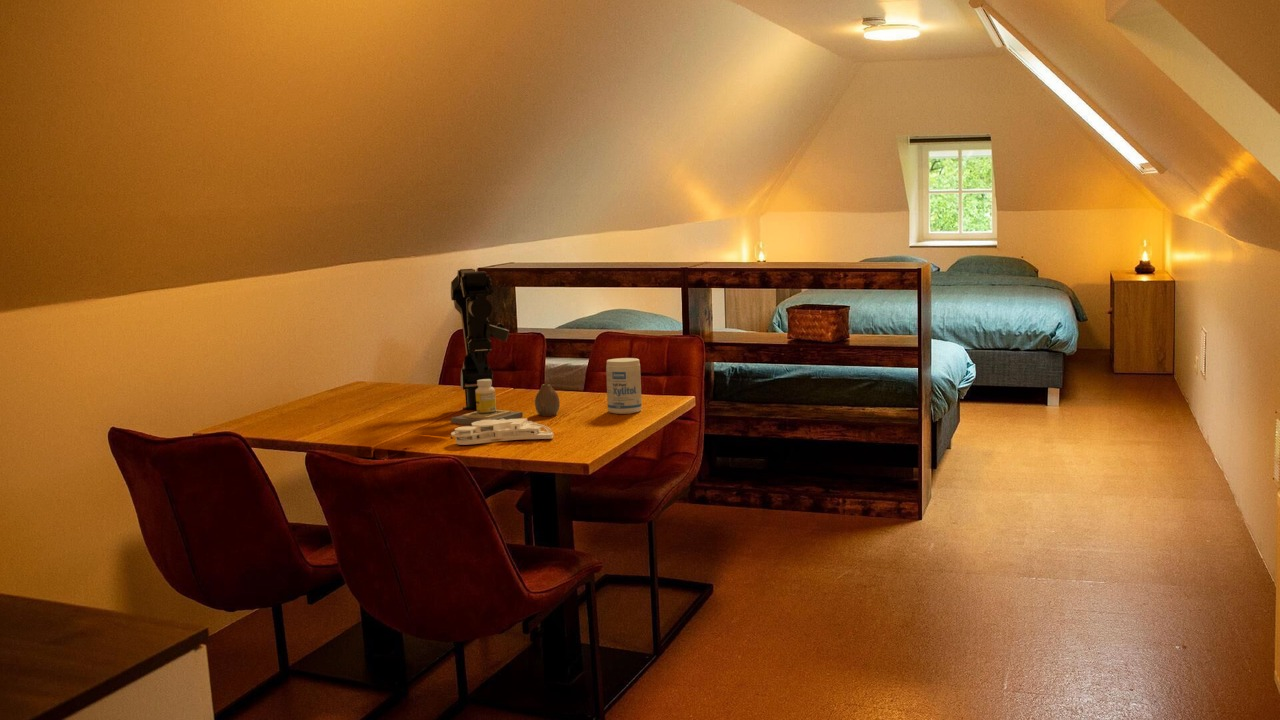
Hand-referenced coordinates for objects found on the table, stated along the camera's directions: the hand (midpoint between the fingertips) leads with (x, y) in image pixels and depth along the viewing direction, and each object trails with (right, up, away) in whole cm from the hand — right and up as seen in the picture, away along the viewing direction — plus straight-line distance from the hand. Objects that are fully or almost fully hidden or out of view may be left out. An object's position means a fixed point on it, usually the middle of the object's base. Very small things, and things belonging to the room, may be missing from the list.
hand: (480, 372), depth 311 cm
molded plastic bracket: (+11, -16, -25) cm, 32 cm away
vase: (+19, -12, 0) cm, 23 cm away
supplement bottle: (+2, -12, -4) cm, 13 cm away
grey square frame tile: (+2, -13, -4) cm, 14 cm away
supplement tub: (+41, -11, 0) cm, 42 cm away
